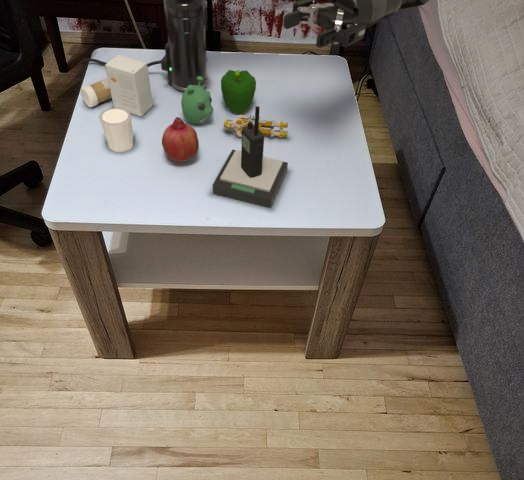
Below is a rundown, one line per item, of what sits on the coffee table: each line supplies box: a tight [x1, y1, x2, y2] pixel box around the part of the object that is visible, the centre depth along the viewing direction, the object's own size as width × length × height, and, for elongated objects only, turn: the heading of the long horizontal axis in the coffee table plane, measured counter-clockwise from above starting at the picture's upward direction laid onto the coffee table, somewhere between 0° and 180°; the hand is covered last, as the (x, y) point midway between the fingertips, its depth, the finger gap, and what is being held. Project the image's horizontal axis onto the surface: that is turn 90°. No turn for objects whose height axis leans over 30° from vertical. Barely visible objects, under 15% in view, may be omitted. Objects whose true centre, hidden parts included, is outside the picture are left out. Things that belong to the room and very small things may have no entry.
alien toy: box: [180, 76, 214, 125], centre depth 118 cm, size 7×8×10 cm
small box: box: [104, 54, 154, 118], centre depth 119 cm, size 8×6×10 cm
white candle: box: [98, 106, 134, 153], centre depth 112 cm, size 7×7×7 cm
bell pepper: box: [220, 69, 257, 115], centre depth 122 cm, size 8×8×10 cm
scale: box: [212, 149, 289, 209], centre depth 109 cm, size 13×13×3 cm
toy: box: [223, 114, 289, 139], centre depth 118 cm, size 5×5×15 cm
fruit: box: [161, 116, 200, 162], centre depth 109 cm, size 8×8×10 cm
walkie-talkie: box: [240, 105, 265, 178], centre depth 102 cm, size 5×3×15 cm
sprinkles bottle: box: [80, 77, 112, 108], centre depth 123 cm, size 5×5×13 cm
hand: (301, 32), depth 92 cm, fingers open, 8 cm apart
